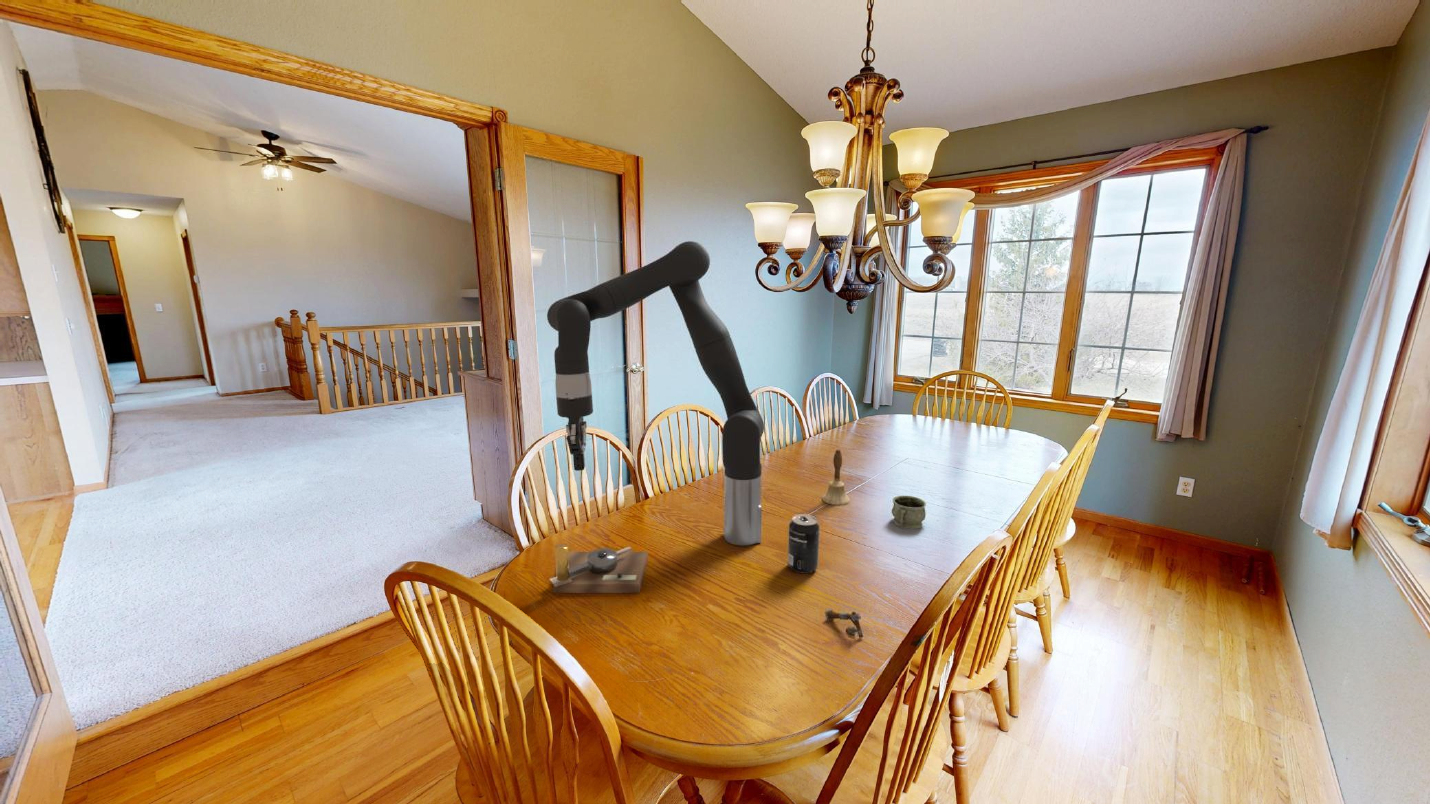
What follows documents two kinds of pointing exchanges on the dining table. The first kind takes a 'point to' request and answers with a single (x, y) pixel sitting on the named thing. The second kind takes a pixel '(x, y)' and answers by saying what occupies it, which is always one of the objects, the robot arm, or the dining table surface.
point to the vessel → (908, 511)
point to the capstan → (596, 562)
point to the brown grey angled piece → (846, 616)
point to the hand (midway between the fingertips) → (579, 469)
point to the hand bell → (836, 485)
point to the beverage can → (803, 543)
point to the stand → (605, 575)
